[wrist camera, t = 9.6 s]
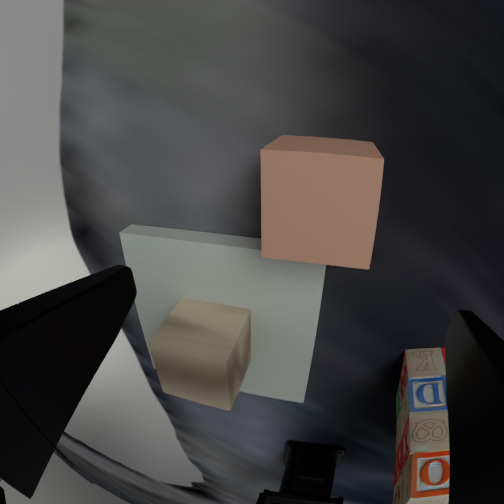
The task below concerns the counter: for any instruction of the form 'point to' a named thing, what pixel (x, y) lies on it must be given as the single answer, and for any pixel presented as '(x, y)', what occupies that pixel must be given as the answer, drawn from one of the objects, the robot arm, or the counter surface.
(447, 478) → the stack of blocks
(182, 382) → the beech brick
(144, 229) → the baseplate
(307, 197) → the brownish pink cube
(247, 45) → the counter surface
